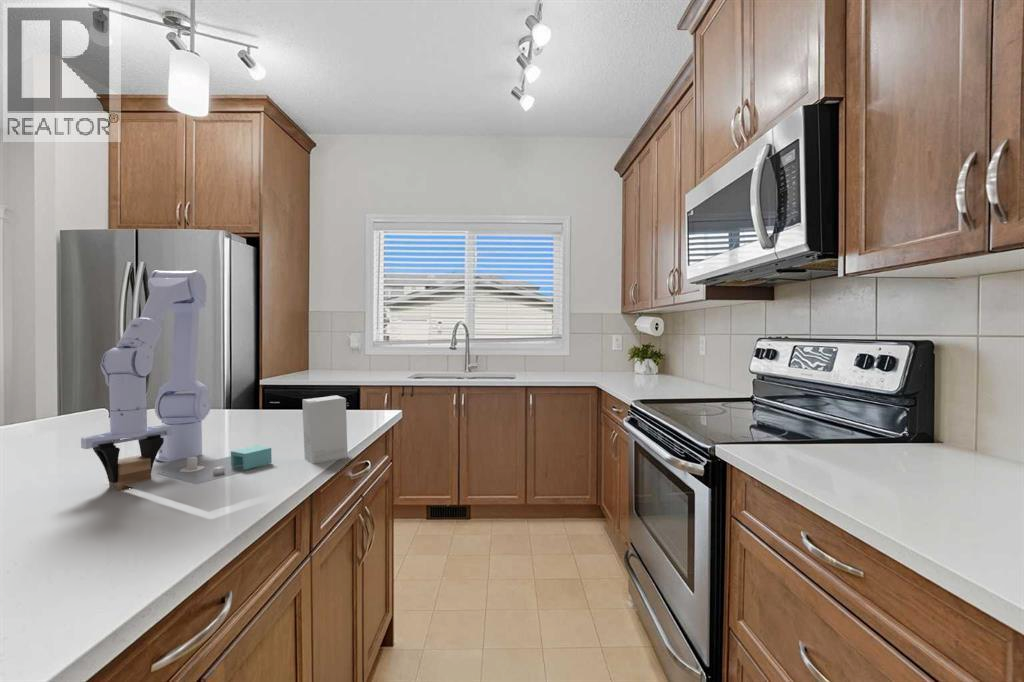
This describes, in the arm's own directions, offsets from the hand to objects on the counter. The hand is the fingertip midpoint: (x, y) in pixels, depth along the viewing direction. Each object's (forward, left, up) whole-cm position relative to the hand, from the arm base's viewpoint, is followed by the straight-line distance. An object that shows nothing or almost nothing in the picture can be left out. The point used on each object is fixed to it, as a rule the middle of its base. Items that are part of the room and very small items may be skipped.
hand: (130, 478), depth 98 cm
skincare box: (+20, +30, -2) cm, 36 cm away
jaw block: (0, 0, -1) cm, 1 cm away
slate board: (+6, +13, -1) cm, 15 cm away
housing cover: (+11, +18, 0) cm, 21 cm away
